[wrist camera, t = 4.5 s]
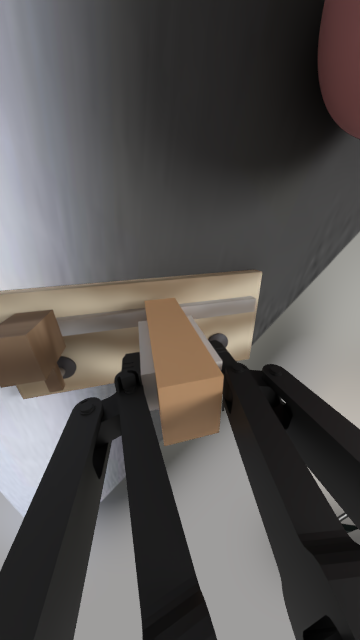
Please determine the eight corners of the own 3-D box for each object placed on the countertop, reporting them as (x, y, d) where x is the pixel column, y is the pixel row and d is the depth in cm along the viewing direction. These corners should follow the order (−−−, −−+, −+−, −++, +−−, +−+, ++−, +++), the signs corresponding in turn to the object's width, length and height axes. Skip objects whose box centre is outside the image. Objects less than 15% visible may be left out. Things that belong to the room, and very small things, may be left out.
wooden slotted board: (-20, 292, 17) (-112, 328, 11) (254, 269, 22) (303, 284, 16) (30, 389, 22) (-12, 452, 16) (243, 352, 27) (276, 389, 21)
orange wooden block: (144, 299, 18) (157, 388, 8) (173, 296, 19) (223, 375, 8) (152, 363, 22) (169, 486, 11) (177, 359, 22) (215, 472, 12)
